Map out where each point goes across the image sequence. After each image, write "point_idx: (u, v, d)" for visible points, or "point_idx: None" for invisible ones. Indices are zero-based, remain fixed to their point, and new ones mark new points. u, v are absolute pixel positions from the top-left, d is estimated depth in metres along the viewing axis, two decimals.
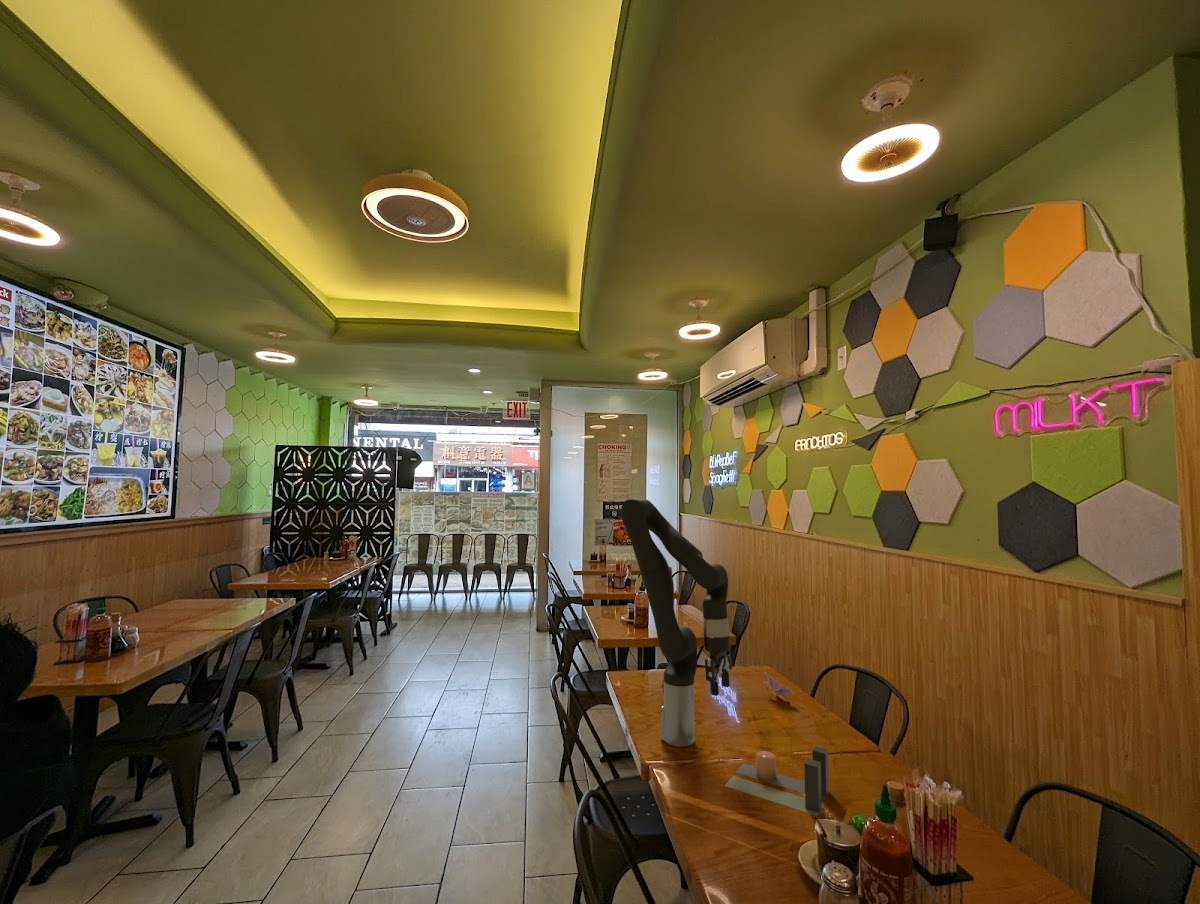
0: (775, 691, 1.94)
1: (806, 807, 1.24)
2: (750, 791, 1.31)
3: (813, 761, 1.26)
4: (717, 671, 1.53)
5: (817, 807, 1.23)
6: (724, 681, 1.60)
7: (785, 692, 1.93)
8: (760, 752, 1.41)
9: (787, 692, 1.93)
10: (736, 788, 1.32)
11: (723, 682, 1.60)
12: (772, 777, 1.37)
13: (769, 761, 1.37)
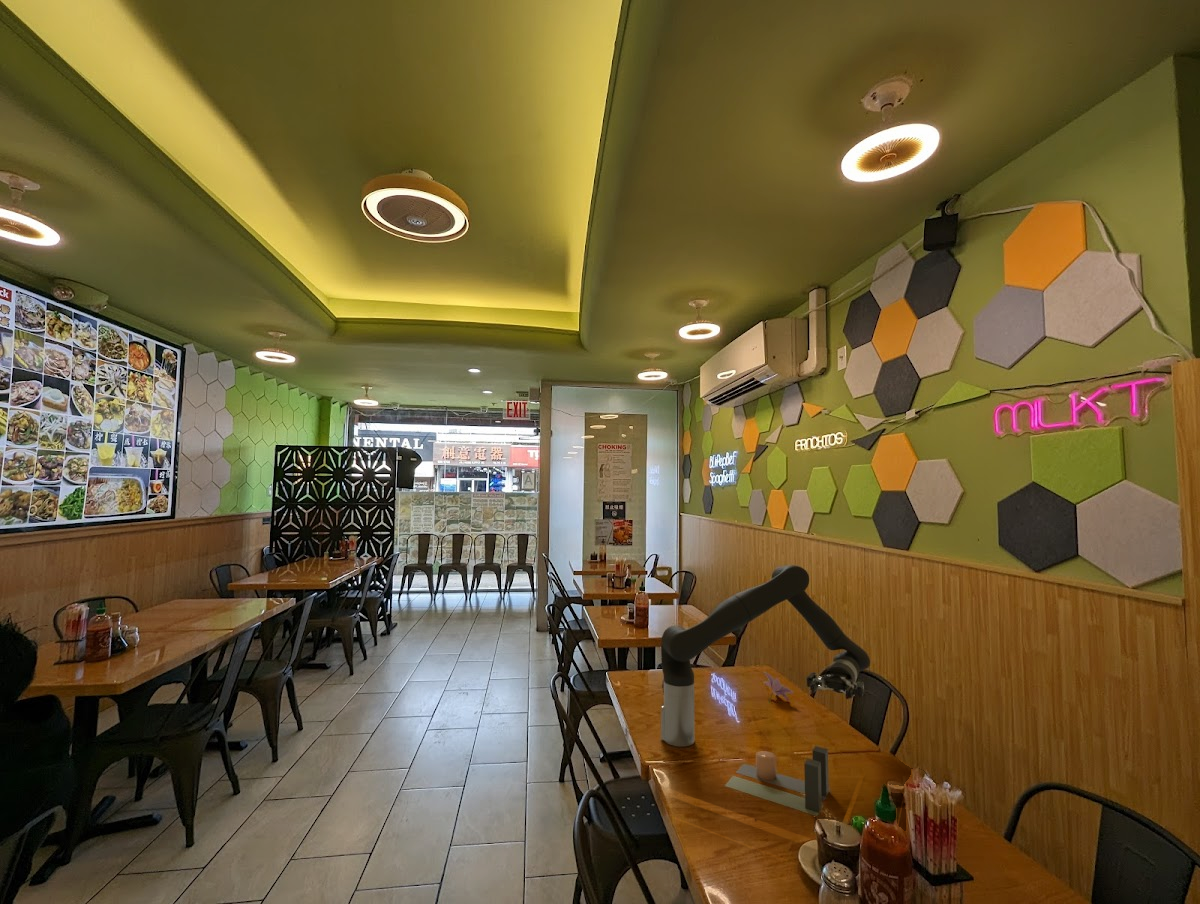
0: (775, 691, 1.94)
1: (806, 807, 1.24)
2: (750, 791, 1.31)
3: (813, 761, 1.26)
4: None
5: (817, 807, 1.23)
6: (815, 687, 1.47)
7: (785, 692, 1.93)
8: (760, 752, 1.41)
9: (787, 692, 1.93)
10: (736, 788, 1.32)
11: (815, 685, 1.46)
12: (772, 777, 1.37)
13: (769, 761, 1.37)
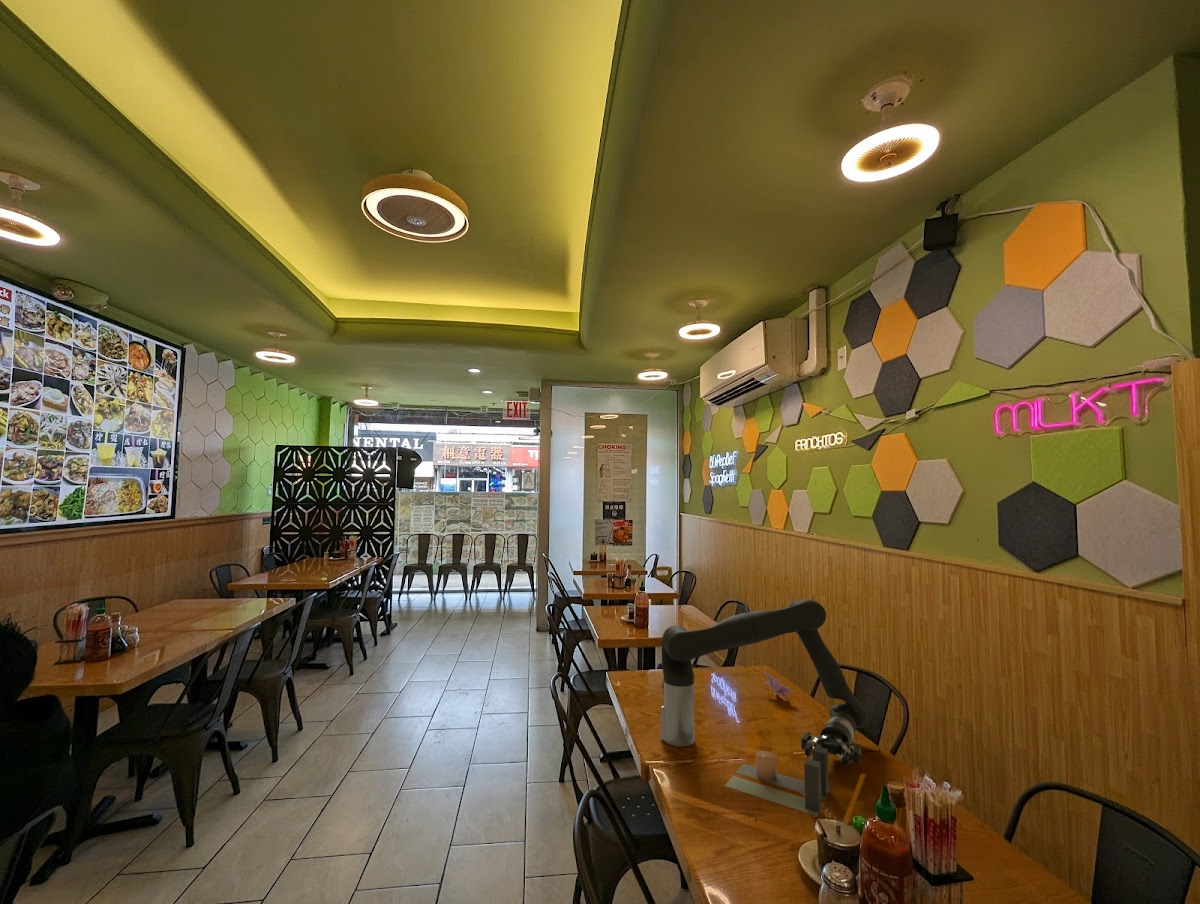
0: (775, 691, 1.94)
1: (806, 807, 1.24)
2: (750, 791, 1.31)
3: (813, 761, 1.26)
4: None
5: (817, 807, 1.23)
6: (810, 751, 1.40)
7: (785, 692, 1.93)
8: (760, 752, 1.41)
9: (787, 692, 1.93)
10: (736, 788, 1.32)
11: (810, 749, 1.40)
12: (772, 777, 1.37)
13: (769, 761, 1.37)
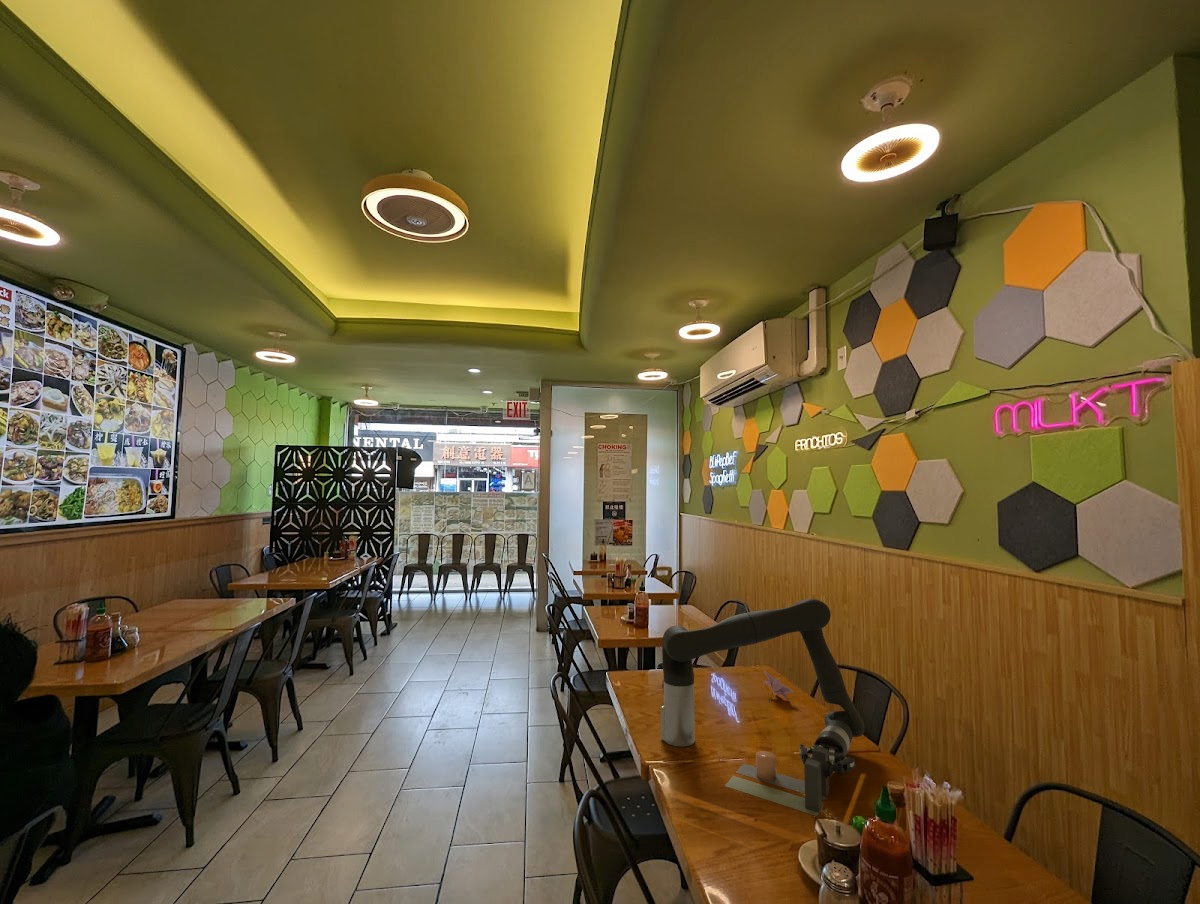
0: (775, 690, 1.94)
1: (806, 807, 1.24)
2: (750, 791, 1.31)
3: (813, 761, 1.26)
4: None
5: (817, 807, 1.23)
6: None
7: (785, 691, 1.94)
8: (760, 752, 1.41)
9: (787, 692, 1.93)
10: (736, 788, 1.32)
11: None
12: (772, 777, 1.37)
13: (769, 761, 1.37)
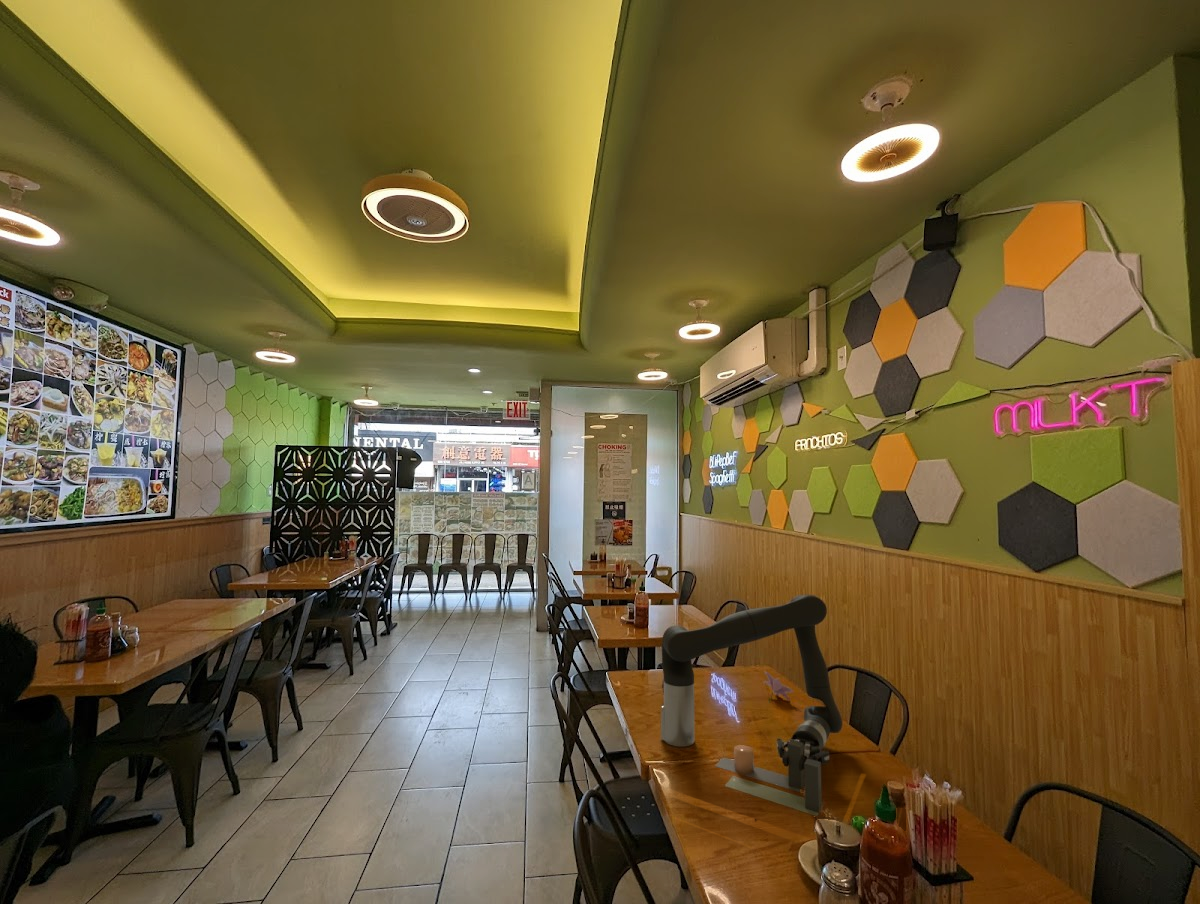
0: (775, 690, 1.95)
1: (806, 807, 1.24)
2: (750, 791, 1.31)
3: (813, 761, 1.26)
4: None
5: (817, 807, 1.23)
6: None
7: (785, 691, 1.94)
8: (738, 746, 1.44)
9: (787, 691, 1.93)
10: (736, 788, 1.32)
11: (787, 758, 1.34)
12: (749, 770, 1.40)
13: (747, 754, 1.40)
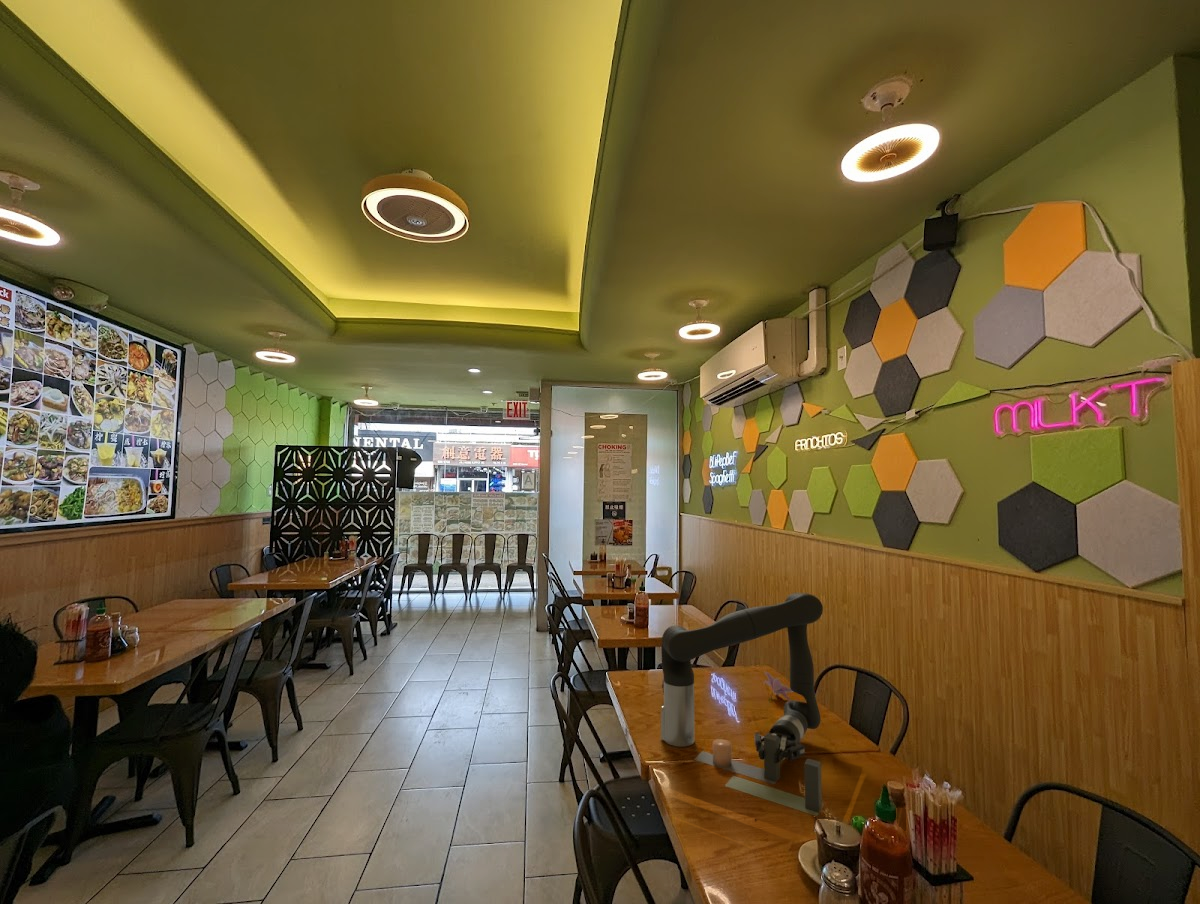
0: (775, 690, 1.95)
1: (806, 807, 1.24)
2: (750, 791, 1.31)
3: (813, 761, 1.26)
4: None
5: (817, 807, 1.23)
6: None
7: (785, 691, 1.94)
8: (717, 740, 1.48)
9: (787, 691, 1.94)
10: (736, 788, 1.32)
11: (763, 751, 1.38)
12: (727, 763, 1.43)
13: (724, 748, 1.43)
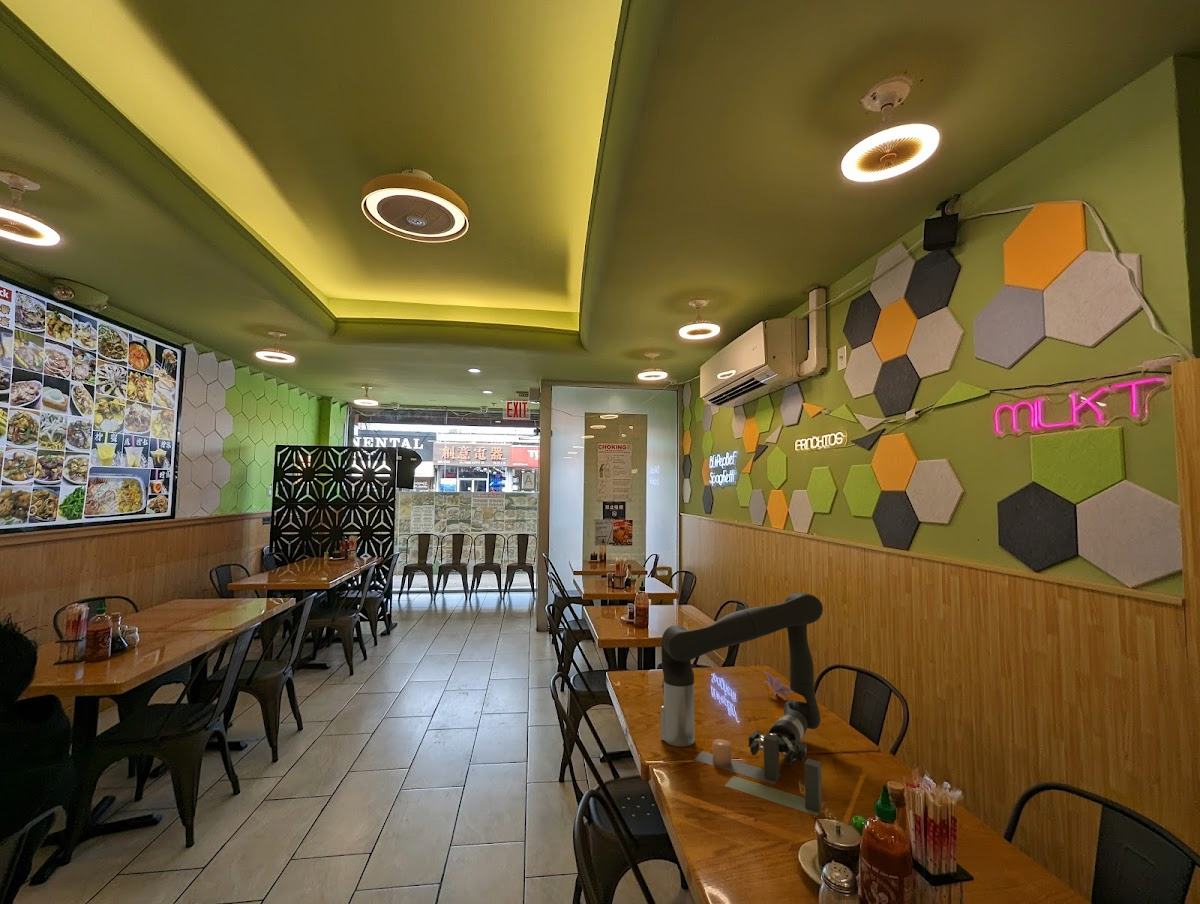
0: (775, 690, 1.95)
1: (806, 807, 1.24)
2: (750, 791, 1.31)
3: (813, 761, 1.26)
4: None
5: (817, 807, 1.23)
6: (755, 749, 1.40)
7: (785, 691, 1.94)
8: (717, 740, 1.48)
9: (787, 691, 1.94)
10: (736, 788, 1.32)
11: (755, 747, 1.40)
12: (727, 763, 1.43)
13: (724, 748, 1.43)
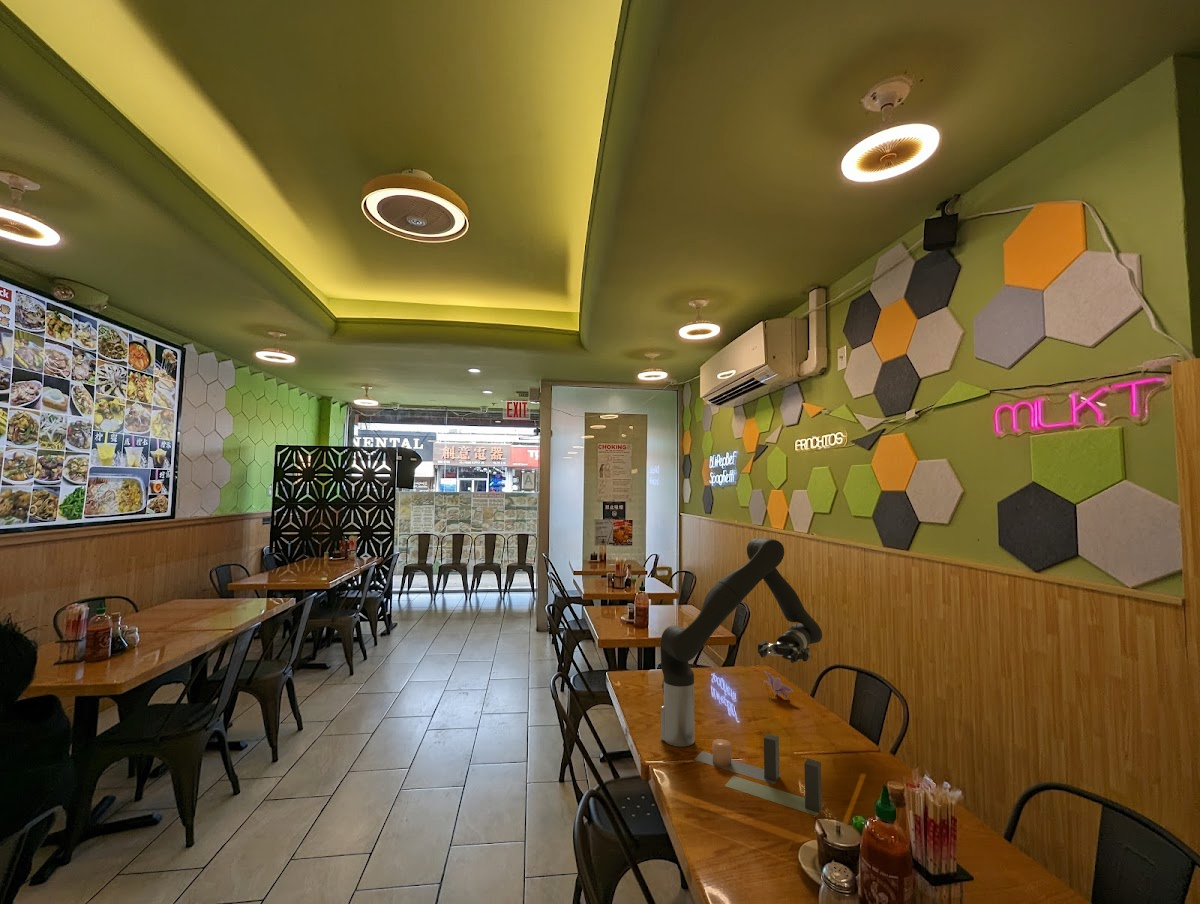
0: (776, 690, 1.95)
1: (806, 807, 1.24)
2: (750, 791, 1.31)
3: (813, 761, 1.26)
4: None
5: (817, 807, 1.23)
6: (764, 652, 1.57)
7: (785, 690, 1.95)
8: (717, 740, 1.48)
9: (787, 691, 1.94)
10: (736, 788, 1.32)
11: (764, 651, 1.57)
12: (727, 763, 1.43)
13: (724, 748, 1.43)
